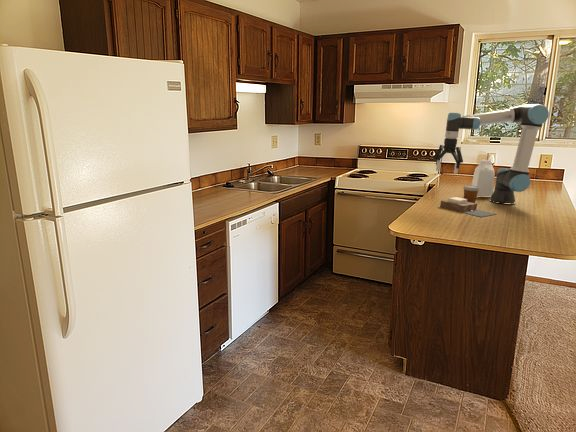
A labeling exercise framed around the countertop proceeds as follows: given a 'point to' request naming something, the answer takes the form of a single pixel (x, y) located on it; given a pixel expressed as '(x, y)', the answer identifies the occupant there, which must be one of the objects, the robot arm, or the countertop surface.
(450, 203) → the walnut board
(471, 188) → the disposable coffee cup
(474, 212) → the rubber mat
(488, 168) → the milk
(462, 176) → the countertop surface
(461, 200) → the coaster
